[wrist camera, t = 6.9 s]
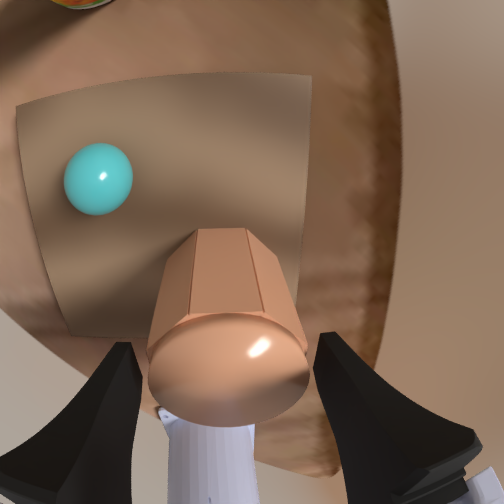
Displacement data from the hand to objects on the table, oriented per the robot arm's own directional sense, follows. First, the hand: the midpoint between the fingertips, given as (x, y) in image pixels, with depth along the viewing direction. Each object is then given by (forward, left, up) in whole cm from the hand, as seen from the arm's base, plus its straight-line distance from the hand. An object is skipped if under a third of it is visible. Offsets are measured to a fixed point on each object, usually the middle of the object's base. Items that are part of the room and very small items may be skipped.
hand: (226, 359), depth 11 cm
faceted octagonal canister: (0, 0, -5) cm, 5 cm away
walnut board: (+3, +3, -7) cm, 8 cm away
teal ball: (+6, +5, -4) cm, 9 cm away
